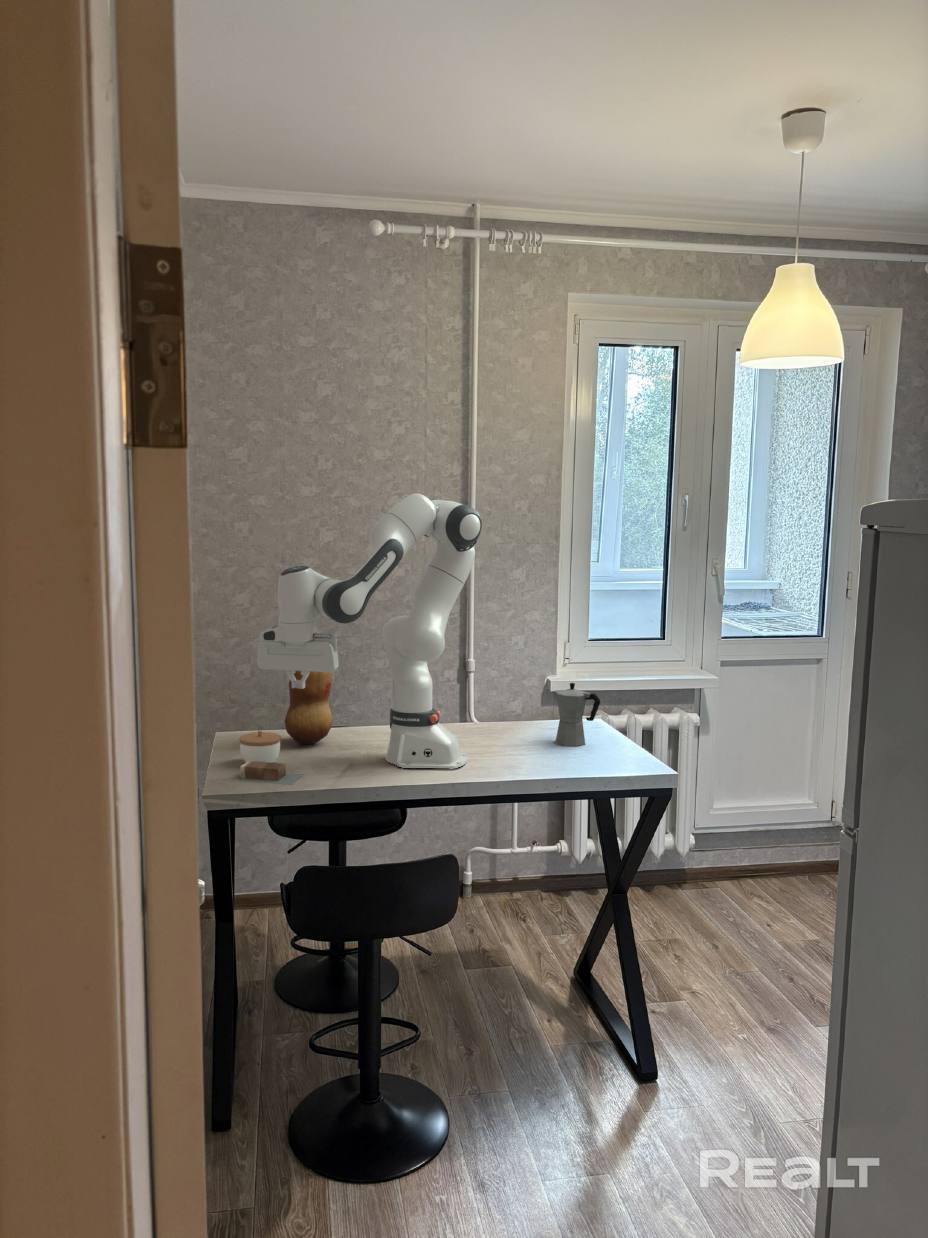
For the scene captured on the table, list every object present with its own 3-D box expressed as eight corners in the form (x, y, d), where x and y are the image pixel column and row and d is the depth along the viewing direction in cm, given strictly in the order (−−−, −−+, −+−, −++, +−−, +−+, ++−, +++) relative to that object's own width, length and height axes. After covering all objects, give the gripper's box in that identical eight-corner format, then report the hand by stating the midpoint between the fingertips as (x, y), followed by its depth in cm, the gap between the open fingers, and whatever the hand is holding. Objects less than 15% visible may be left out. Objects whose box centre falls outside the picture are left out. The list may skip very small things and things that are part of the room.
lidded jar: (281, 759, 253) (281, 725, 252) (280, 770, 243) (280, 735, 242) (241, 760, 252) (240, 726, 250) (238, 772, 241) (237, 736, 240)
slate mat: (305, 777, 237) (305, 774, 237) (292, 788, 229) (292, 784, 229) (254, 773, 240) (254, 770, 240) (239, 783, 231) (239, 780, 231)
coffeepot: (543, 743, 275) (545, 683, 272) (556, 736, 283) (557, 677, 281) (592, 750, 267) (594, 689, 265) (604, 743, 276) (606, 683, 273)
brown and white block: (285, 763, 236) (248, 760, 238) (278, 769, 231) (240, 766, 233) (285, 775, 236) (249, 772, 238) (278, 781, 231) (240, 778, 233)
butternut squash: (325, 750, 263) (325, 663, 259) (279, 748, 264) (278, 661, 261) (337, 738, 276) (337, 654, 273) (293, 736, 278) (293, 653, 275)
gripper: (341, 632, 229) (342, 687, 231) (263, 629, 233) (265, 683, 235) (333, 636, 223) (334, 692, 225) (253, 633, 227) (255, 689, 229)
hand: (298, 688), depth 230 cm, fingers closed
